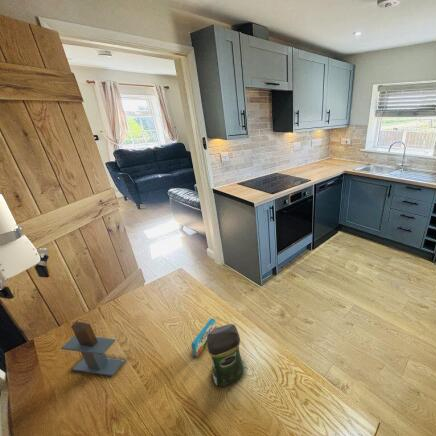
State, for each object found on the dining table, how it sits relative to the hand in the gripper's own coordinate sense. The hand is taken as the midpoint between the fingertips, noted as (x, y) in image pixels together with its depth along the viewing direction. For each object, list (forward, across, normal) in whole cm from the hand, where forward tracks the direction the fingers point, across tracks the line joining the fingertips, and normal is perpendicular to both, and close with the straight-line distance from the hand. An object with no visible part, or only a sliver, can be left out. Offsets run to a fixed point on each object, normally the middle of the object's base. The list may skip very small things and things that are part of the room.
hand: (27, 286), depth 72 cm
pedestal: (+28, +3, +18) cm, 34 cm away
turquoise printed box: (+28, -10, +48) cm, 57 cm away
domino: (+17, +3, +18) cm, 25 cm away
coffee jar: (+28, 0, +61) cm, 67 cm away
